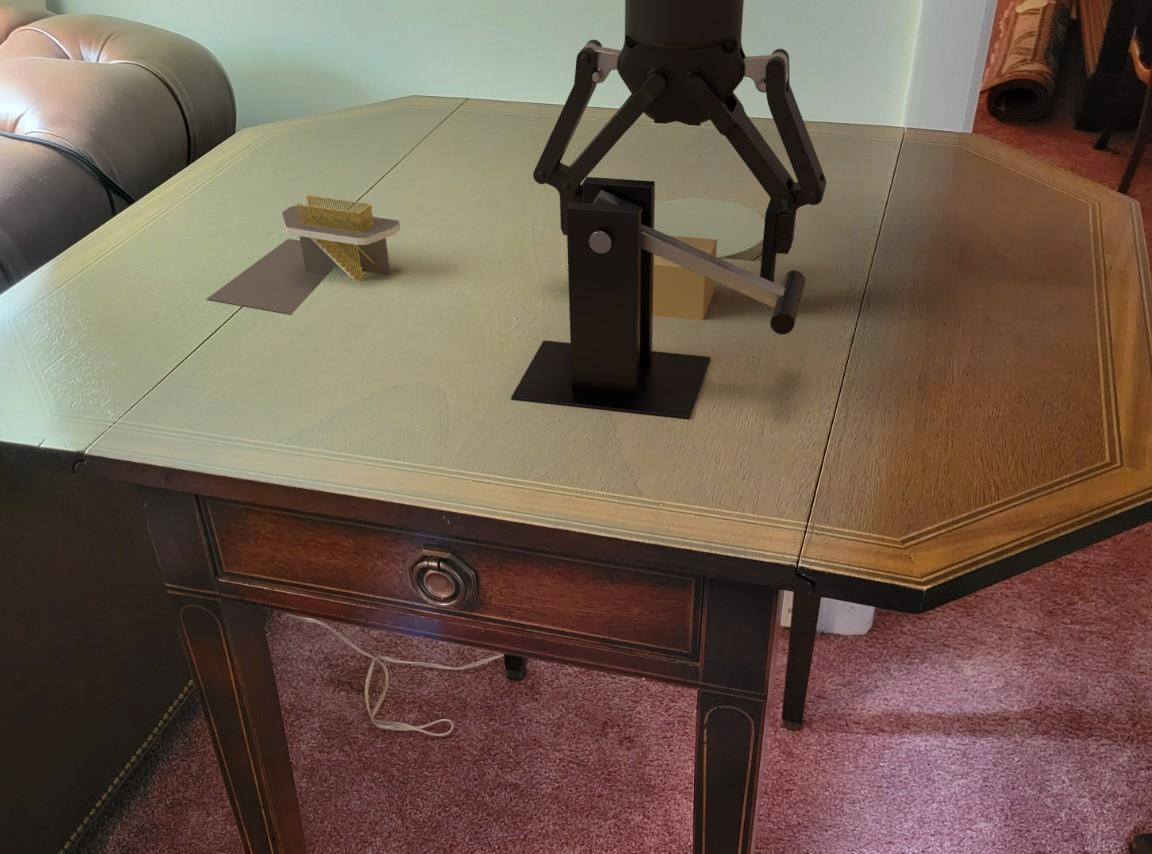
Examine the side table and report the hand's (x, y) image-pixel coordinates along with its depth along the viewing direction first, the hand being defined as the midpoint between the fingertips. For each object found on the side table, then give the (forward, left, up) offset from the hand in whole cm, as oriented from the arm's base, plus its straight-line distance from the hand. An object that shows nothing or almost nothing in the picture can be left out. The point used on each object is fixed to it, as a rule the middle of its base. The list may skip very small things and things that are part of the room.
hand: (673, 284), depth 90 cm
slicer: (+2, +12, -2) cm, 12 cm away
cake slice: (0, 0, -2) cm, 2 cm away
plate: (+1, -13, -2) cm, 13 cm away
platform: (+27, 0, -3) cm, 27 cm away
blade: (-3, +12, +7) cm, 14 cm away
